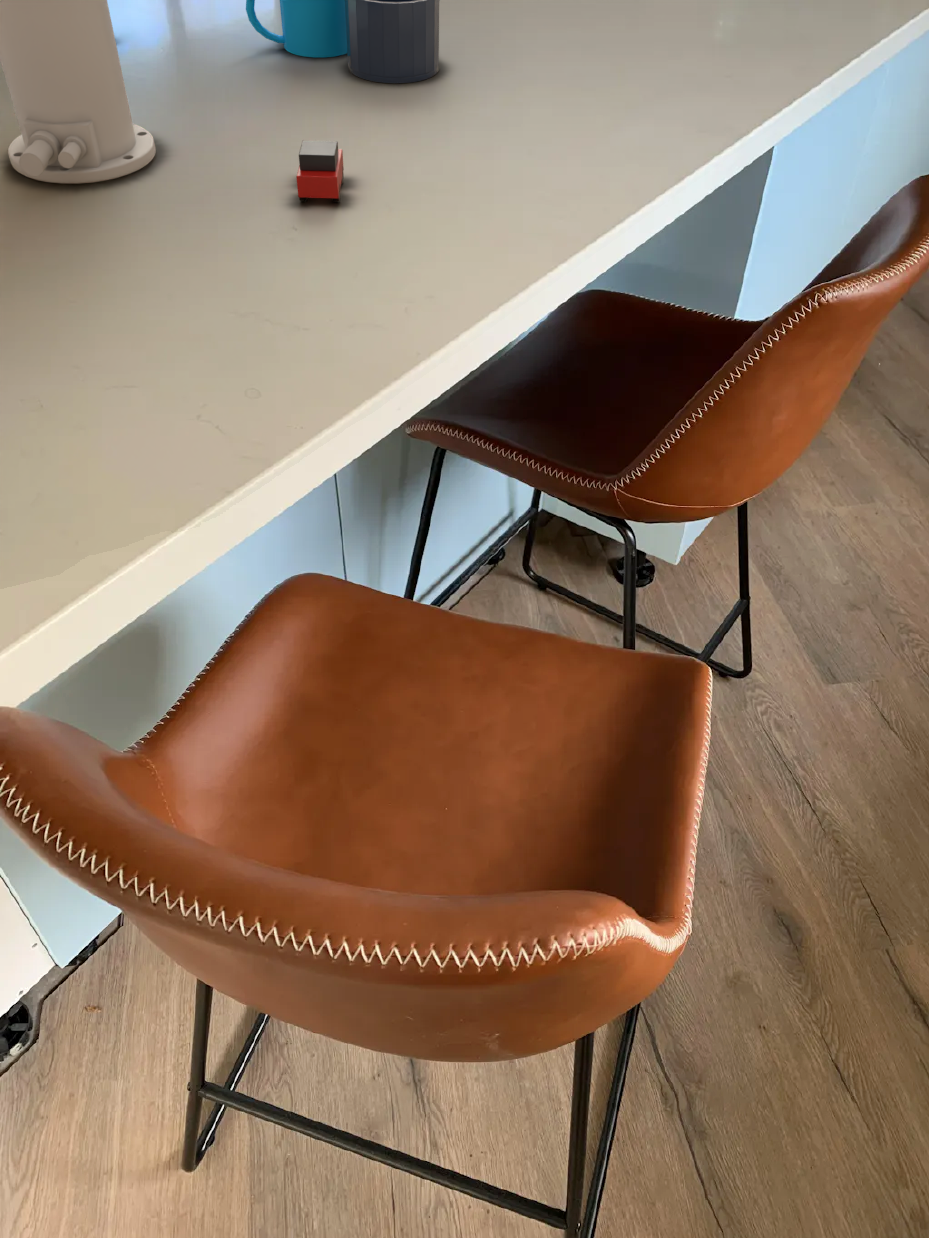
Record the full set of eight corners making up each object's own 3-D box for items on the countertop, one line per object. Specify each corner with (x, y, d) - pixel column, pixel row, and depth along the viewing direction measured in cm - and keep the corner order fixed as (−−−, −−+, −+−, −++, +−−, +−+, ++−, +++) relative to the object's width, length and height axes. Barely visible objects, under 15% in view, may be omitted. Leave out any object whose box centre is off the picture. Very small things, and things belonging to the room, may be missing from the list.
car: (339, 207, 81) (336, 161, 78) (298, 206, 81) (294, 159, 78) (344, 178, 85) (341, 133, 83) (306, 177, 85) (302, 132, 82)
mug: (347, 33, 114) (343, -48, 108) (361, 55, 109) (357, -29, 103) (246, 38, 111) (236, -45, 105) (254, 61, 106) (244, -25, 100)
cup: (438, 85, 103) (439, 4, 97) (345, 82, 102) (340, 1, 97) (438, 55, 110) (439, -22, 104) (351, 52, 109) (347, -25, 104)
